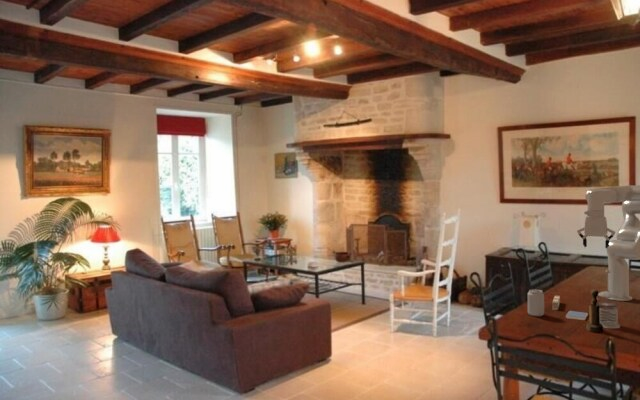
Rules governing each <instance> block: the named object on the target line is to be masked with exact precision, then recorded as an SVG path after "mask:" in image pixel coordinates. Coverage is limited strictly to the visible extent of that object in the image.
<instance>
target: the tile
mask: <svg viewBox="0 0 640 400" xmlns="http://www.w3.org/2000/svg"><path fill="white" fill-rule="evenodd" d="M588 313H589V312H583V311H575V310H569V311H568V312H567V313H566V314H565V318H566V319H568V320H569V319H571V320H577V321H578V320H579V321H586V319H587V318H588V315H589V314H588Z"/></svg>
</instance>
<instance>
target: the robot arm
mask: <svg viewBox="0 0 640 400" xmlns="http://www.w3.org/2000/svg"><path fill="white" fill-rule="evenodd" d="M585 200H586V202H587V211H584V215H587V216H585V218H584V219H585V220H584V227H582V228H580V229H578V230H576V233H577V234H578V236H579V237H580V238H581V239H582V246H584V248H586V247H587V246H588V245H587V244H588V243H587V242H588V240H587V237H599V238H600V237H603V238H604V239H605V247H604V248H605V249H606V255H607V264H608V266H607V267H608V269H607V270H609V271H610V273H607V291H609V292H613V293H615V294H617V295H618V297H617V298H606V299H607V300H612V301H620V302H629V301H632V300H633V297H632V296H631V295H630V290H629V289H630V288H629V287H630V284H629V283H630V273H629V271H630V266H629V264H628V262H627V261H626V260H631V261H633V260H634V261H635V260H637V261H638V260H640V219H639V217H638V216H636V215H640V185H639V184H638V185H636V184H635V185H629V184H628V185H619V186H607V187H596V188H590V189H588V190H587V191H586V193H585ZM614 203H621V209H622V216H623V220H622V224H621V226H620V227H619V229H618V230H617V234H616V231H615V230H613V229H611V228H608V222H607V218H606V216H605V204H606V205H607V204H609V205H610V204H614ZM583 231H584V233H583V234H584V235H583V234H582V232H583ZM608 232H609V233H610V235H608ZM615 234H616V239H615V240H611V239H612V238H613V237H614V236H615Z"/></svg>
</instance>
